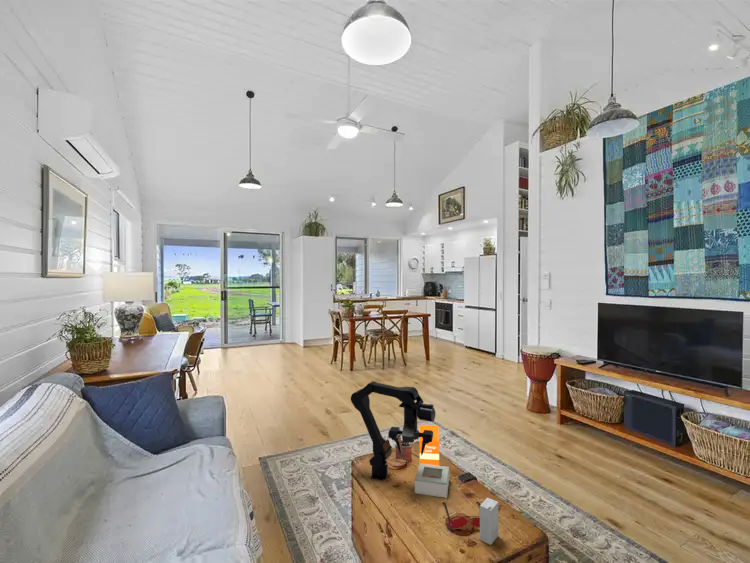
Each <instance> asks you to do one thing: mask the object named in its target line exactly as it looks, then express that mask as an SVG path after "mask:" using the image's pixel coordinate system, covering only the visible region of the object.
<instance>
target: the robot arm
mask: <svg viewBox="0 0 750 563" xmlns="http://www.w3.org/2000/svg"><path fill="white" fill-rule="evenodd" d="M372 393H374V394H377V395H382V396H387V397H392V398H395V399H398V401H400V402H401V403H400V404H399V405H398V408H403V426H402V427H403V428H402V430H401V429H400V427H398V426H391V427H390V428H389V430H388V432H387V434H388V438H389V439H391V440H392V441H393V442H395V445H396V444H397V446H398V449H399V452H400V453H401V444H402V443H401V440H402V441H403V442H409V444H412V443H414V442H415V441H416V440H420V437H422V438H423V440H422V449H421V456H422V454H423V451H424V448H425V446H426V444H428V443H429V442H432V440H433V431H432V430H424V432H423V433H421V432H420V429H419V430H418V419H419V421H424V422H431V423H434V422H435V420H436V409H435V407H434V404H431V403H430V404H428V403H425V402H424V400H423V399H422V397H421V395H420V394H419V391H418V390H417V388H416V387H415V386H399V387H398V386H395V385H390V384H386V383H381V382H377V381H370V382H369V383H367V384H366V386H364V387H363V388H359V389H358V390H357V391H355V392H353V393H352V394H351V396H350V402H351V403H352V405H353V406H354V408H355V409H356V410H357V411H358V412H359V413H360V415H361V418H362V419H363V422H364V425H365V428H366V430H367V432H368V433H367V434H368V435H369V437H370V439H371V442H372V452H373V453H372V454H373V456H372V457H371V458H370V459H369V461H368V462H369V464H370V466H371V476H370V479H374V480H380V481H385V480H386V478H387V477H388V475H389V465H388V461H387V460H389V458H390V457H391V455H392V453H393V450H392V448H393V446H391V444H390V440H389V439H385V438H384V437H383V436H382V434H381V431H380V428H379V426H378V424H377V422H376V419H375V417H374V415H373V412H372V410H371V407H370V406H371V405H370V395H371V394H372ZM415 401H416V402H415Z"/></svg>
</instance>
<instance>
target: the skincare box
mask: <svg viewBox="0 0 750 563" xmlns="http://www.w3.org/2000/svg"><path fill="white" fill-rule="evenodd" d="M479 516H480V517H479V518H480V528H479V540H480V541H482V542H483V543H485V544H487V545H490V546H491V545H492V544H493V543H494V542H495V541H496V539H497V538H498V537H499V501H497V500H494V499H492V498H489V497H486V498H485V500H483V502H482V503H480V506H479Z"/></svg>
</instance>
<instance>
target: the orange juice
mask: <svg viewBox="0 0 750 563" xmlns="http://www.w3.org/2000/svg"><path fill="white" fill-rule="evenodd" d="M424 430H432V431H433V440H432V442H429V443H428V444H426V446H425V448H424V451H423V454H422V456H421V449H422V440H423V438H422V437H419V463H421V464H430V465H438V466H440V438H439V432H440V431H439V425H430V424H428V425H427V424H419V432H421V433H423V432H424Z"/></svg>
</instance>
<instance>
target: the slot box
mask: <svg viewBox="0 0 750 563" xmlns="http://www.w3.org/2000/svg"><path fill="white" fill-rule="evenodd" d="M427 475H430V476H438V477H439V479H437V478H430V477H427ZM449 484H450V466H447V465H444V466H443V465H439V466H438V465H430V464H421V463H420V462H419V463H418V466H417V469H416V473H415V477H414V494H417V495H422V496H423V495H424V496H431V497H437V498H438V497H439V498H444V499H445V498H446V499H448V494H449Z"/></svg>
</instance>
